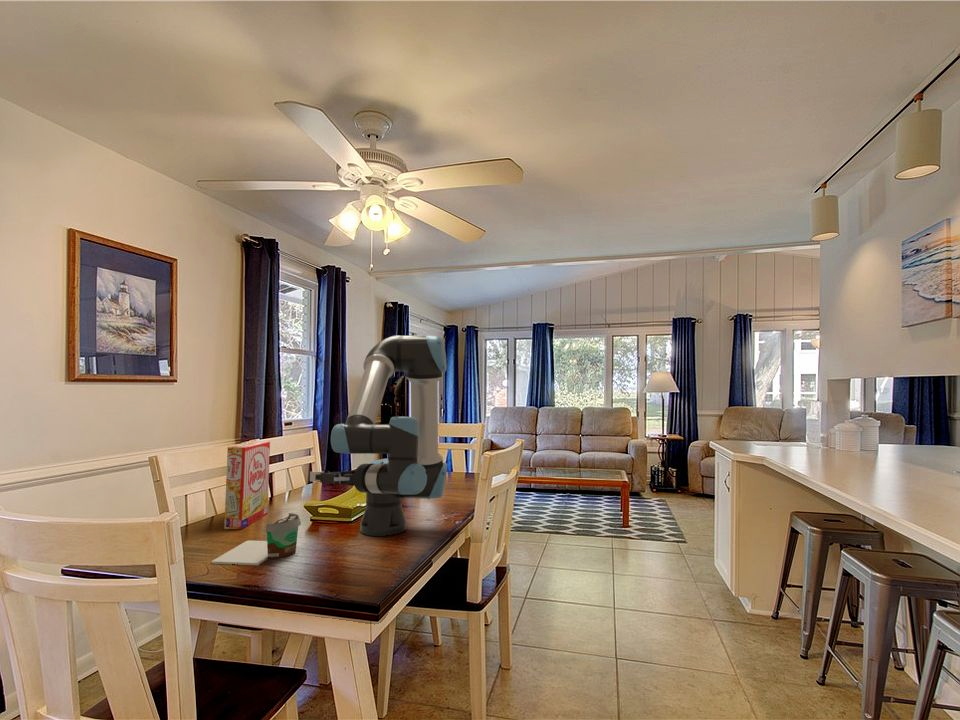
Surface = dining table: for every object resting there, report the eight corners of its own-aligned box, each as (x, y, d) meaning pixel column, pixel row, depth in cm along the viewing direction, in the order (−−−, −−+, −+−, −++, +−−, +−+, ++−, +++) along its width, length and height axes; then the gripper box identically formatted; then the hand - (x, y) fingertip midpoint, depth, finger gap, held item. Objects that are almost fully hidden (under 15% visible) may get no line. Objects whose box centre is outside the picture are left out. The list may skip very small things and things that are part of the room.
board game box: (242, 530, 164) (244, 447, 165) (223, 529, 164) (225, 447, 165) (268, 513, 185) (270, 440, 186) (251, 513, 185) (253, 440, 186)
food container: (285, 562, 135) (286, 525, 135) (264, 561, 136) (265, 524, 136) (308, 548, 147) (309, 513, 147) (289, 546, 148) (289, 512, 148)
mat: (288, 543, 150) (288, 541, 151) (257, 565, 133) (257, 563, 133) (247, 542, 151) (247, 540, 152) (211, 563, 134) (211, 561, 134)
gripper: (390, 462, 138) (329, 462, 150) (356, 464, 127) (293, 464, 138) (389, 490, 136) (328, 487, 148) (355, 495, 125) (292, 491, 137)
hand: (312, 476), depth 143 cm, fingers closed
